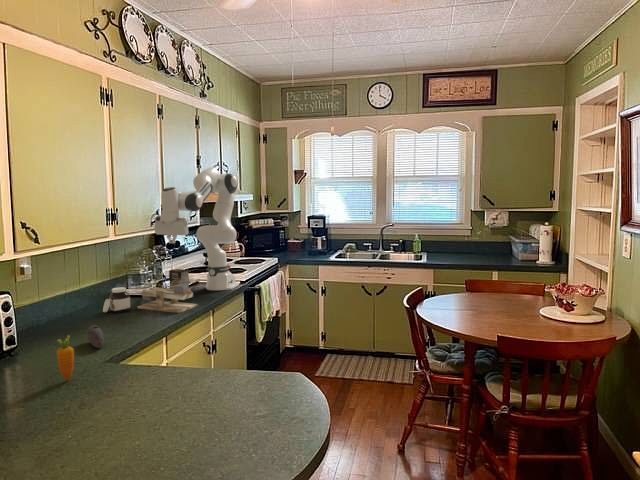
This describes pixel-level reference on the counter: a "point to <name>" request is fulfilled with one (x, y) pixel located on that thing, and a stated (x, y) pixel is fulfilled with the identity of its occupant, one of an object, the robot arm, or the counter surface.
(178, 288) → the block
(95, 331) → the perforated stone tool
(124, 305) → the spread jar
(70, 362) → the carrot
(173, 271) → the coffee box
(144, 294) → the beige long grooved bar
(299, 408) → the counter surface
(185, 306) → the pivot stand
